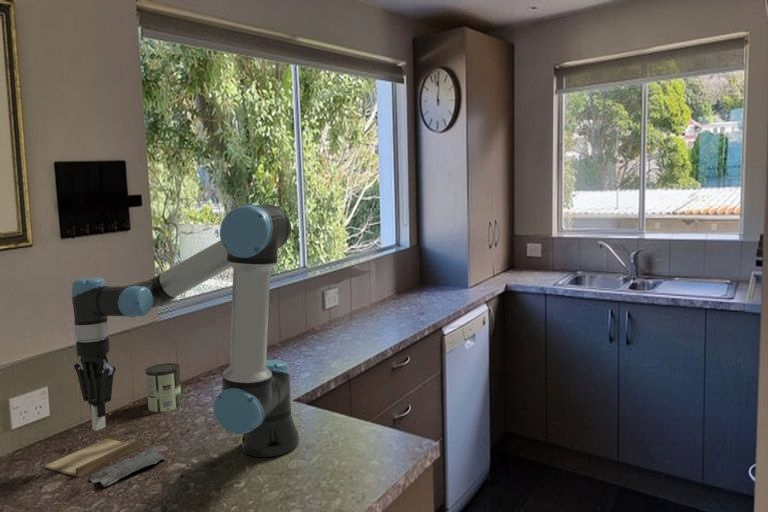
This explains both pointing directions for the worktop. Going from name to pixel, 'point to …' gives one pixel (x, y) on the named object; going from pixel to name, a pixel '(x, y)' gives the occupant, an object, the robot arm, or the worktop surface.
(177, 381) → the coffee can
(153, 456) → the stone slab
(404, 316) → the worktop surface
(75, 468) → the board
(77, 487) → the worktop surface
